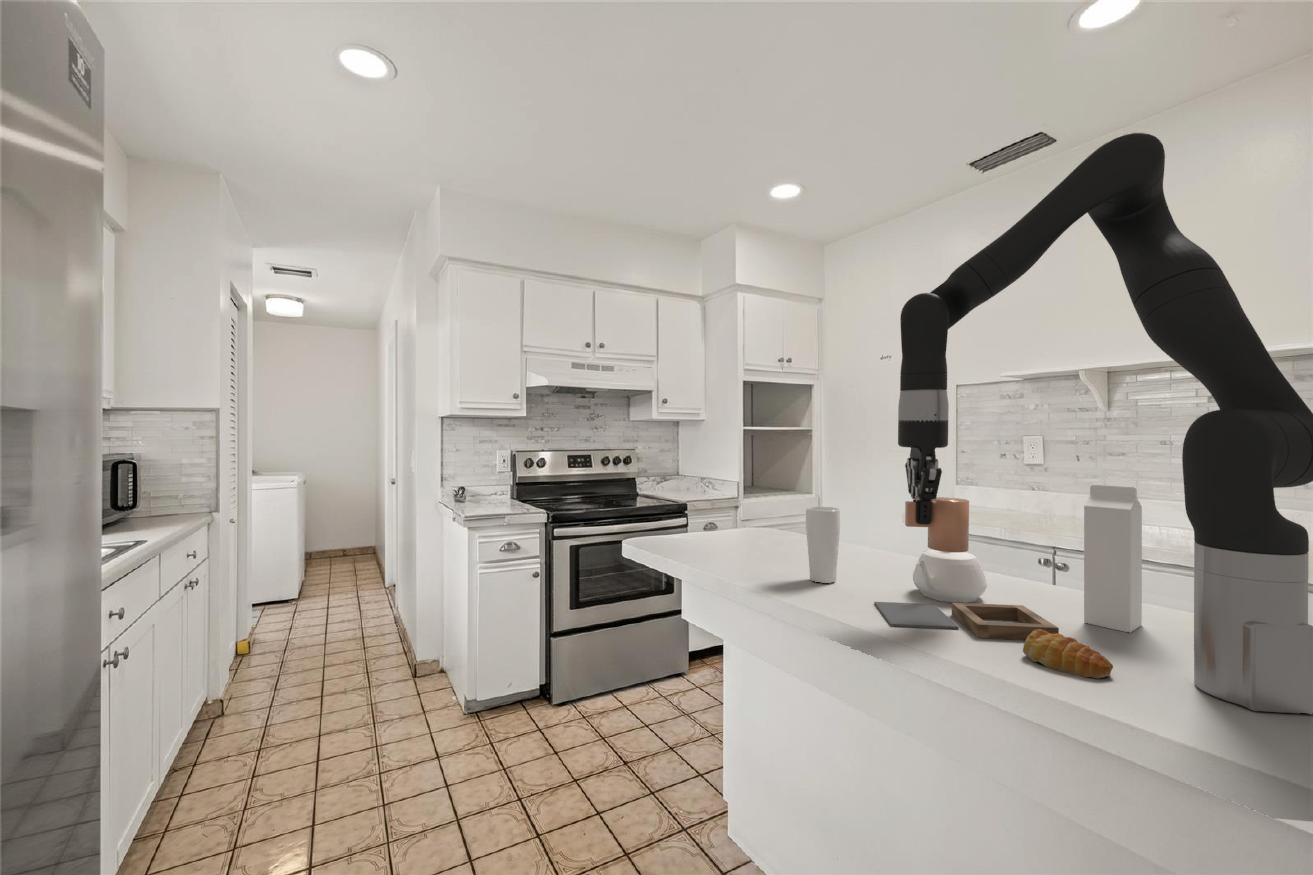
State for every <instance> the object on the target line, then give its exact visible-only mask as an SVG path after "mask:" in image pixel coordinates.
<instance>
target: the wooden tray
mask: <svg viewBox="0 0 1313 875" xmlns="http://www.w3.org/2000/svg"><path fill="white" fill-rule="evenodd" d="M951 616H953V617H954V618H955V619H956V620H957V621H959V622H960V623H961V624H962V625H963V626H964V627H965V628H966V629H967V630H969V632H971V633H972V634H973V635H974V636H975V637H976V638H977V639H994V640H995V639H997V640H1015V641H1016V640H1017V641H1018V640H1019V641H1022V640H1023V641H1026V639H1027V637H1028V635H1030V634H1031V633H1032V631H1034V630H1036V629H1042V630H1045V631H1047V632H1048V633H1050V634H1060V633H1059V632H1060V628H1059V627H1058V626H1057V625H1055V624H1053V623H1052V622H1050V621H1048V620H1047V619H1046V618H1043V617H1042V616H1041V615H1039V614H1037V613H1036V612H1034V611H1032V609H1030V608H1028V607H1026V606H1025V605H1024V604H1023V605H1021V604H1020V605H1019V604H996V603H995V604H993V603H990V604H989V603H973V602H969V603H954V602H951ZM983 619H986V620H987V619H988V620H1007V621H1018V622H1003V621H1001V622H999V621H998V622H997V621H985V620H983Z"/></svg>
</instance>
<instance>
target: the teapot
mask: <svg viewBox="0 0 1313 875" xmlns="http://www.w3.org/2000/svg"><path fill="white" fill-rule="evenodd" d="M912 581H913V584H914V586H915V587H916V588H917V589H918V590H919V591H920V592H921V593H922V594H923V595H924V596H925V597H927V598H928V599H931V600H936V601H941V602H946V603H947V602H948V603H973V602H976V601H977V600H978V599H979V597H981V596H982V595H984V593H985V591H986V590H987V588H988V583H987V579H986V575H985V573H984V569H983V567H982V565H981V563H980V561H979V559H978V557H977V556H976V555H975V554H973V553H969V552H968V551H967V552H943V551H937V550H933V549H929V550H928V549H927V550H925V551H923V552H922V553H921V554H920V556H919V558H918V560H917V563H916V564H915V567H914V570H913V573H912Z"/></svg>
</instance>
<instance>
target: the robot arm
mask: <svg viewBox="0 0 1313 875" xmlns="http://www.w3.org/2000/svg"><path fill="white" fill-rule="evenodd" d="M1165 159H1166V154H1165V148H1164V145H1163V143H1162V142H1161V140H1160V139H1159V138H1158V137H1156V136H1155V135H1153V134H1152V133H1151V134H1150V133H1147V132H1130V133H1125V134H1122V135H1121V134H1120V135H1119V136H1116V137H1114V138H1112V139H1110V140H1108V141H1106V142H1105V143H1103V144H1102V145H1100V146H1099V147H1097V149H1095V150H1093V152H1091V154H1089V155H1088V156H1087V157H1086V158H1085V159H1084V160H1083V161H1081V162H1080V164H1079V165H1077V166H1076V167H1075V169H1073V170H1072V171H1071V172H1070V173H1068V175H1067V176H1066V177H1065V178H1064V179H1063V180H1061V182H1059V183H1058V184H1057V185H1056V186H1055V187H1054V188H1053V189H1052V190H1051V191H1050V192H1049V193H1048V194H1047V195H1046V196H1045V197H1043V198H1042V199H1041V200H1040V201H1039V202H1038V203H1037V204H1036V205H1035V206H1033V208H1031V209H1030V210H1029V211H1028V212H1027V213H1026V214H1025V215H1023V217H1021V219H1019V220H1018V221H1017V222H1016V223H1015V224H1013V225H1012V226H1011V227H1010V228H1009V229H1007V230H1005V232H1003V233H1002V234H1001V235H1000V236H998V237H997V238H996V239H994V240H993V241H992V242H990V243H989V244H988V245H986V246H985V247H984V248H982V249H981V250H980V251H978V252H977V253H975V254H974V255H973V256H971V257H970V258H969V259H967V260H965V261H964V262H963V263H961V264H960V265H959V266H958V267H957V268H955V269H954V271H952V272H951V273H950V275H949V276H948V277H947V279H946V280H945V281H944V282H943V283H941V284H939V286H937V287H935V288H934V289H933V290H931V291H930V292H922V293H918V294H916V295H913V296H912V297H911V298H909V299H908V300H907V301H906V302H905V303H904V305H903V307H902V308H901V312H900V322H899V323H900V342H901V357H902V358H901V365H900V373H899V374H900V379H899V380H900V382H899V383H900V384H899V386H900V387H899V391H900V392H899V399H898V410H897V411H898V412H897V417H898V420H897V423H898V424H897V425H898V428H897V445H898V446H899V447H901V448H910V450H909V451H910V452H909V457H908V458H907V459H906V462H905V464H904V467H905V473H906V479H907V490H908V494H909V495H910V497H911V499H912V501H914V502H916V523H918V524H926V525H928V524H930V523H931V502H932V501H933V499H936V497H937V496H938V492H939V486H940V482H941V477H942V473H943V471H942V468H941V467H939V459H937V457H936V449H942V448H947V447H948V445H949V410H950V409H949V398H948V363H947V346H948V345H947V344H948V333H949V329H951V328H952V327H953V326H954V325H956V324H957V323H958V322H959V321H961V320H962V319H963V318H965V316H967V315H968V314H969V313H970V312H972V311H973V310H974V309H976V308H977V307H978V306H981V305H982V304H984V303H986V302H988V301H989V300H991V299H992V298H994V297H995V296H996V295H997V294H999V293H1001V292H1002V291H1004V290H1005V289H1006V288H1008V287H1009V286H1010V285H1012V284H1013V283H1015V282H1016V281H1017V280H1019V279H1021V277H1022V276H1023V275H1025V274H1026V273H1027V272H1029V270H1030V269H1031V268H1032V267H1034V265H1035V264H1036V263H1037V262H1038V261H1039V259H1041V258H1042V256H1043V255H1044V254H1045V253H1046V252H1047V251H1048V250H1049V248H1050V247H1052V245H1053V244H1054V243H1055V242H1056V241H1057V240H1058V239H1059V238H1060V237H1061V236H1062V234H1064V233H1065V232H1066V231H1067V230H1068V229H1069V228H1070V227H1071V226H1072V225H1073V224H1075V223H1076V222H1077V221H1079V219H1081V218H1082V217H1083V216H1085V215H1086V214H1088V216H1089V218H1090V219H1091V220H1092V221H1093V223H1094V225H1095V226H1096V228H1097V229H1098V230H1099V231H1100V233H1101V235H1102V236H1103V237H1104V239H1105V240H1106V242H1107V243H1108V245H1109V247H1110V248H1111V250H1112V252H1113V253H1114V256H1115V258H1116V261H1117V263H1118V266H1119V267H1118V268H1119V269H1120V273H1121V276H1122V280H1123V282H1124V285H1125V287H1126V290H1127V293H1128V295H1129V298H1130V300H1131V303H1132V305H1133V308H1134V309H1135V312H1136V314H1137V316H1138V319H1139V321H1140V323H1141V325H1142V327H1143V329H1144V331H1145V332H1146V334H1147V336H1148V337H1149V339H1150V340H1151V341H1152V342H1153V343H1154V344H1155V345H1156V346H1157V347H1158V348H1159V349H1160V350H1161V351H1162V352H1163V353H1164V354H1166V355H1167V356H1168V357H1169V358H1170V359H1171V360H1173V361H1174V362H1175V363H1177V364H1178V365H1179V366H1181V367H1182V368H1184V370H1186V371H1187V372H1188V373H1190V374H1191V375H1192V376H1193V377H1194V378H1195V379H1196V380H1198V381H1199V382H1200V384H1202V385H1203V386H1204V387H1205V388H1206V390H1207V391H1208V392H1209V393H1210V395H1211V397H1212V398H1213V399H1214V401H1215V402H1216V405H1217V406H1218V409H1216V410H1212V411H1208V412H1206V413H1204V414H1202V415H1200V416H1198V417H1197V418H1196V419H1195V420H1194V421H1193V422H1192V424H1190V426H1189V427H1188V429H1187V431H1186V434H1185V436H1184V440H1183V445H1182V457H1181V461H1182V464H1181V465H1182V478H1183V493H1184V507H1185V512H1186V515H1187V516H1186V517H1187V518H1188V522H1190V525H1191V526H1192V528H1193V529H1192V530H1193V534H1194V537H1193V538H1194V542H1193V547H1194V548H1193V551H1194V552H1193V553H1194V554H1193V555H1194V557H1193V559H1194V560H1193V562H1194V564H1193V565H1194V566H1193V684H1194V685H1195V686H1196V687H1197V688H1199V689H1200V690H1201V691H1203V692H1205V693H1206V694H1209V695H1211V696H1213V697H1215V698H1218V699H1221V700H1223V701H1226V702H1230V703H1232V704H1236V705H1239V706H1241V707H1245V708H1247V709H1248V710H1251V711H1254V712H1267V713H1268V712H1269V713H1270V712H1273V713H1286V714H1287V713H1289V714H1300V713H1313V625H1311V624H1309V556H1310V555H1309V552H1310V551H1309V550H1310V549H1309V548H1310V547H1309V546H1310V545H1309V544H1310V541H1309V540H1310V539H1309V533H1308V530H1307V529H1306V528H1305V526H1303V525H1301V524H1299V523H1296V522H1294V521H1291V520H1289V519H1287V518H1286V517H1284V516H1283V515H1282V514H1281V512H1280V511H1279V510H1278V509H1277V506H1276V501H1275V499H1276V498H1275V490H1274V489H1277V488H1280V489H1281V488H1294V487H1295V488H1296V487H1300V486H1306V485H1308V484H1310V483H1312V482H1313V412H1312V411H1311V409H1310V408H1309V407H1308V405H1307V404H1306V402H1304V400H1303V399H1302V397H1301V396H1300V395H1299V394H1298V392H1297V391H1296V390H1295V389H1294V387H1293V386H1292V385H1291V383H1290V382H1289V381H1288V380H1287V378H1286V377H1285V376H1284V375H1283V372H1282V371H1281V370H1280V369H1279V367H1278V366H1277V364H1276V363H1275V361H1274V359H1272V357H1271V355H1270V353H1269V351H1268V349H1267V348H1266V346H1265V344H1264V343H1263V341H1262V339H1261V338H1260V336H1259V334H1258V332H1257V331H1256V329H1255V327H1254V326H1253V324H1252V323H1251V320H1250V319H1249V318H1248V316H1247V315H1246V313H1245V311H1244V309H1243V307H1242V305H1241V303H1240V301H1239V299H1238V297H1237V295H1236V293H1235V291H1234V290H1233V287H1232V286H1231V284H1230V282H1229V280H1228V279H1227V277H1226V275H1225V273H1224V272H1223V270H1222V269H1221V268H1222V267H1220V265H1219V264H1218V263H1217V261H1216V259H1214V258H1213V256H1212V255H1210V254H1209V253H1208V252H1207V251H1206V250H1205V249H1204V248H1202V247H1201V246H1199V245H1198V244H1196V243H1195V242H1194V241H1192V240H1191V239H1189V238H1188V237H1187V236H1186V235H1185V234H1183V233H1182V232H1181V230H1180V229H1179V228H1178V226H1177V225H1176V224H1177V223H1176V222H1175V221H1174V220H1175V219H1174V218H1173V216H1172V213H1171V211H1170V209H1169V206H1168V203H1167V200H1166V197H1165V192H1164V178H1165V177H1164V176H1165V164H1166V163H1165V162H1166V160H1165Z"/></svg>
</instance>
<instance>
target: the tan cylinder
mask: <svg viewBox="0 0 1313 875" xmlns="http://www.w3.org/2000/svg"><path fill="white" fill-rule="evenodd" d="M904 502H905V503H904V504H905V505H904V513H905V515H904V516H905V517H904V526H905V527H911V528H913V527H914V528H915V527H916V528H927V548H928V549H929V550H937V551H943V552H967V553H968V552H969V541H970V540H969V539H970V538H969V537H970V536H969V535H970V532H969V531H970V528H969V527H970V500H968V499H966V498H965V499H964V498H955V497H941V496H940V497H936V499H933V501H932V502H931V523H930V524H928V525H926V524H918V523H916V502H914V501H913V500H911V501H909V500H908V501H906V500H905V501H904Z"/></svg>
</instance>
